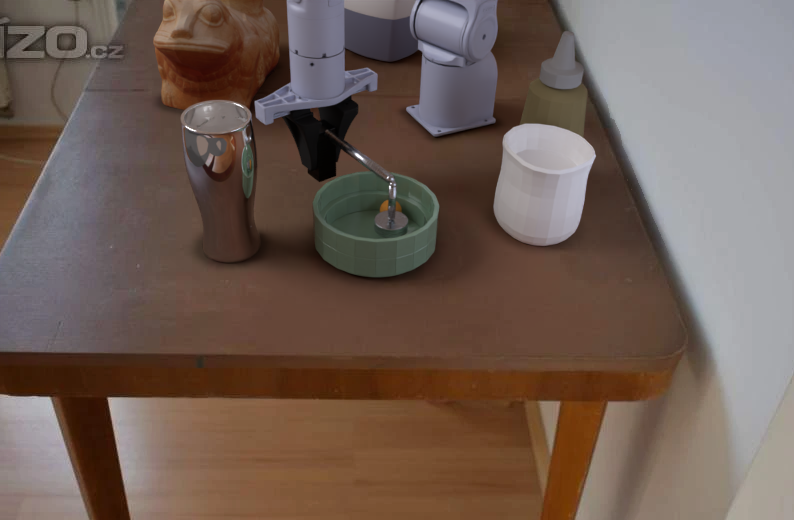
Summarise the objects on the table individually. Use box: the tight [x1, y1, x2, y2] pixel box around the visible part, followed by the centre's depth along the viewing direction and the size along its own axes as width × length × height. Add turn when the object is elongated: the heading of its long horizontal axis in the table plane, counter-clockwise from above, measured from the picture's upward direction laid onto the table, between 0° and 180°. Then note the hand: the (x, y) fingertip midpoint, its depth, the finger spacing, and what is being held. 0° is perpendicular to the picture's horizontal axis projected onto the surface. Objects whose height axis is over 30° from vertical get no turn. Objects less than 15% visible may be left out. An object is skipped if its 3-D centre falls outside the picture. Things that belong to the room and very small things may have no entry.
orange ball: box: [380, 200, 402, 213], centre depth 92 cm, size 2×2×2 cm
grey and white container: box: [344, 0, 419, 63], centre depth 124 cm, size 15×15×11 cm
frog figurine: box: [152, 0, 281, 111], centre depth 111 cm, size 14×26×15 cm, turn 171°
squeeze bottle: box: [519, 30, 589, 138], centre depth 95 cm, size 8×8×18 cm
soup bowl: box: [312, 170, 440, 278], centre depth 88 cm, size 13×13×5 cm
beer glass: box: [179, 100, 261, 264], centre depth 84 cm, size 7×7×15 cm
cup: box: [492, 124, 597, 247], centre depth 91 cm, size 10×10×10 cm
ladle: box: [307, 119, 408, 238], centre depth 90 cm, size 16×4×6 cm, turn 38°
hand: (320, 162), depth 96 cm, fingers closed on ladle, 2 cm apart
